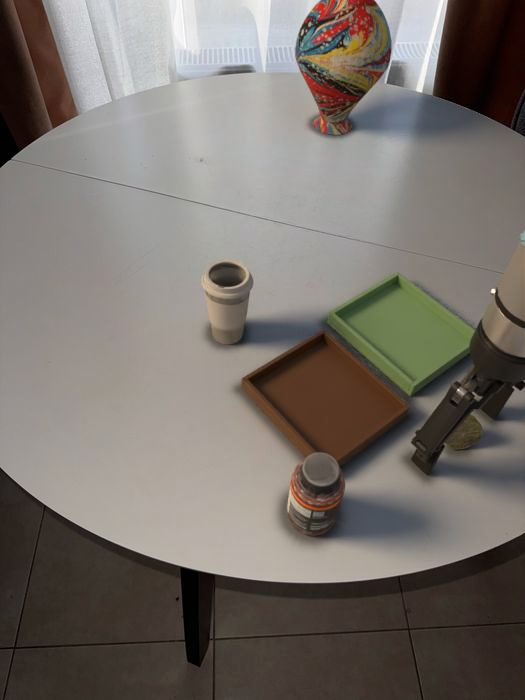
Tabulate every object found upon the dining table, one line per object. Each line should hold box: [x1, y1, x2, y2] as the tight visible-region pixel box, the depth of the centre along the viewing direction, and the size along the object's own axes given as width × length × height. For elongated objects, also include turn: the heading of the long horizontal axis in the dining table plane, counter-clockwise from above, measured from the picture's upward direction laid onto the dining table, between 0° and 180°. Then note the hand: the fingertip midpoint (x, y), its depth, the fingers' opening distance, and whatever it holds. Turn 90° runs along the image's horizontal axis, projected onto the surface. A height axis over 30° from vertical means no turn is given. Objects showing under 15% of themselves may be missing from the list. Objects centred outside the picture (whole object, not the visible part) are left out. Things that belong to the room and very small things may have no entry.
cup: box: [200, 258, 255, 345], centre depth 82 cm, size 7×7×12 cm
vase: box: [294, 0, 393, 136], centre depth 115 cm, size 19×19×30 cm
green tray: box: [326, 271, 476, 397], centre depth 87 cm, size 17×15×2 cm
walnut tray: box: [240, 328, 412, 468], centre depth 79 cm, size 17×15×2 cm
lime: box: [444, 413, 484, 450], centre depth 75 cm, size 4×5×5 cm
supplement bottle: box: [286, 452, 346, 536], centre depth 65 cm, size 6×6×11 cm
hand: (455, 438), depth 77 cm, fingers open, 13 cm apart
